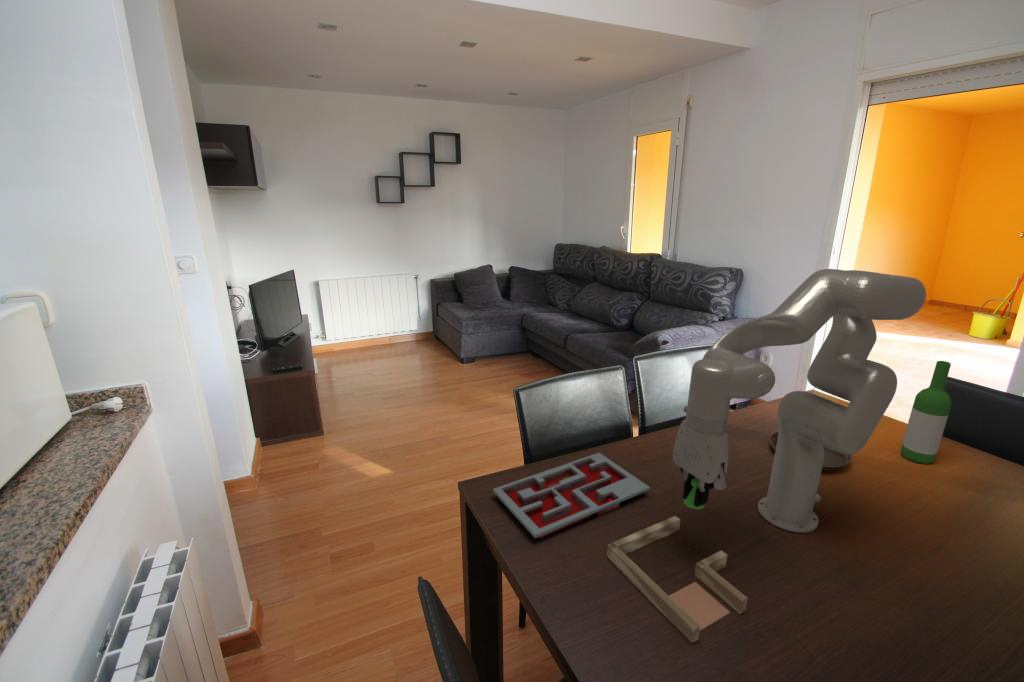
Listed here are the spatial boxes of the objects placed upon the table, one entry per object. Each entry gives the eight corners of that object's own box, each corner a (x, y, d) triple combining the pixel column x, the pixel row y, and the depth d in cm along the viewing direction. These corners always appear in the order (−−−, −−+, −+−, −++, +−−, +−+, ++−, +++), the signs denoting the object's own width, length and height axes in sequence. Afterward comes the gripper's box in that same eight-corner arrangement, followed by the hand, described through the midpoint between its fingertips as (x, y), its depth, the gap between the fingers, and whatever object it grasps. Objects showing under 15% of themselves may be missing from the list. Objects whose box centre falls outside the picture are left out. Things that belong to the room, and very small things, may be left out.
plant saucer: (807, 480, 126) (809, 470, 125) (752, 443, 145) (754, 434, 144) (867, 470, 130) (870, 460, 129) (807, 435, 149) (808, 426, 148)
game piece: (709, 504, 96) (713, 479, 95) (697, 512, 94) (700, 487, 92) (691, 494, 100) (694, 470, 98) (679, 501, 97) (682, 476, 96)
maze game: (534, 547, 102) (534, 535, 101) (493, 499, 118) (493, 488, 117) (648, 497, 119) (649, 487, 118) (598, 462, 135) (599, 452, 134)
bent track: (674, 526, 108) (675, 515, 107) (765, 598, 88) (768, 585, 87) (606, 556, 99) (607, 544, 98) (692, 643, 79) (693, 630, 78)
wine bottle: (931, 455, 137) (959, 360, 128) (936, 468, 131) (966, 369, 122) (897, 448, 141) (923, 356, 132) (901, 460, 135) (928, 363, 126)
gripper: (661, 409, 96) (653, 485, 102) (727, 443, 83) (714, 529, 88) (687, 402, 100) (678, 476, 105) (754, 434, 86) (740, 517, 92)
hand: (694, 500), depth 97 cm, fingers closed on game piece, 2 cm apart
